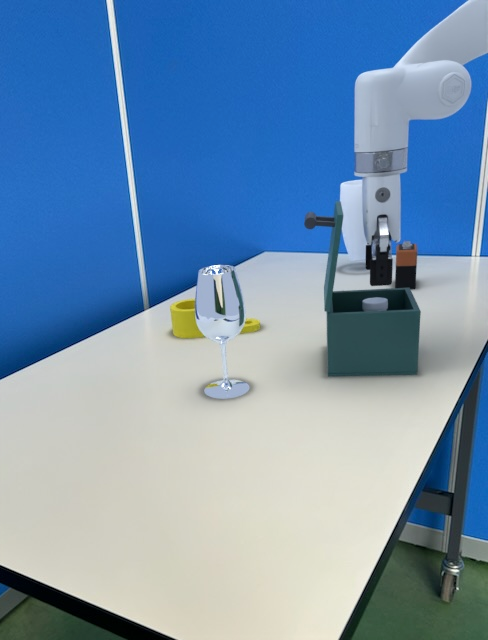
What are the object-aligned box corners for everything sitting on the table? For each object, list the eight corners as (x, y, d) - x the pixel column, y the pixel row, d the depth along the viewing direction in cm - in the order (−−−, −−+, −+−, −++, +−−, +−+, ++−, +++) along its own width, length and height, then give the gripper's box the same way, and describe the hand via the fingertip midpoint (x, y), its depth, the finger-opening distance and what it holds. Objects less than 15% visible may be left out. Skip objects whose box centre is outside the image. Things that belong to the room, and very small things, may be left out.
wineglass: (244, 377, 105) (235, 260, 97) (256, 396, 98) (248, 271, 90) (199, 385, 104) (186, 267, 96) (208, 404, 97) (195, 279, 89)
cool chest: (406, 347, 110) (409, 287, 105) (416, 376, 99) (420, 311, 94) (326, 349, 113) (326, 291, 108) (327, 378, 102) (327, 314, 97)
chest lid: (340, 201, 101) (306, 199, 102) (343, 215, 90) (305, 212, 91) (328, 289, 108) (297, 286, 109) (330, 312, 97) (294, 309, 97)
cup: (386, 272, 155) (389, 182, 145) (344, 277, 155) (344, 187, 146) (374, 263, 164) (376, 177, 155) (334, 267, 164) (334, 182, 155)
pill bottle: (373, 364, 102) (371, 306, 98) (353, 357, 106) (350, 301, 103) (400, 356, 103) (399, 299, 100) (378, 349, 108) (377, 294, 104)
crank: (169, 340, 126) (166, 312, 123) (177, 326, 133) (173, 299, 131) (259, 336, 123) (257, 307, 120) (261, 322, 130) (259, 295, 128)
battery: (394, 291, 140) (396, 246, 136) (395, 282, 146) (396, 240, 142) (415, 290, 139) (417, 245, 135) (414, 282, 145) (417, 239, 141)
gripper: (415, 166, 84) (409, 290, 91) (400, 154, 99) (396, 262, 106) (357, 172, 85) (356, 293, 92) (351, 159, 100) (351, 264, 108)
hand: (378, 276), depth 99 cm, fingers open, 9 cm apart
